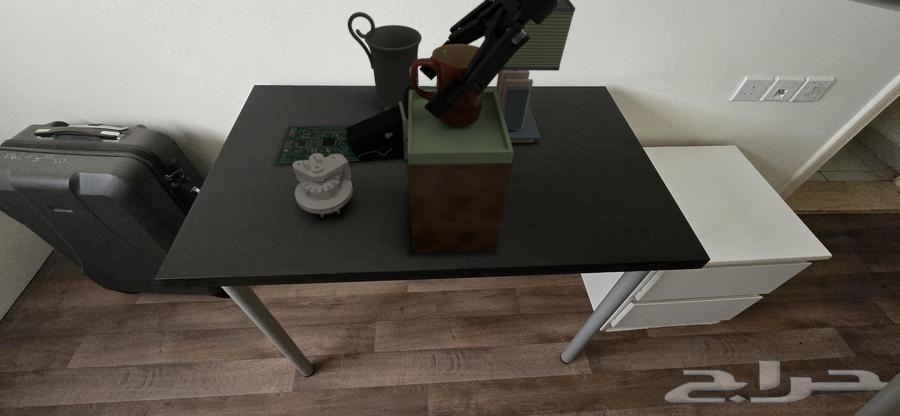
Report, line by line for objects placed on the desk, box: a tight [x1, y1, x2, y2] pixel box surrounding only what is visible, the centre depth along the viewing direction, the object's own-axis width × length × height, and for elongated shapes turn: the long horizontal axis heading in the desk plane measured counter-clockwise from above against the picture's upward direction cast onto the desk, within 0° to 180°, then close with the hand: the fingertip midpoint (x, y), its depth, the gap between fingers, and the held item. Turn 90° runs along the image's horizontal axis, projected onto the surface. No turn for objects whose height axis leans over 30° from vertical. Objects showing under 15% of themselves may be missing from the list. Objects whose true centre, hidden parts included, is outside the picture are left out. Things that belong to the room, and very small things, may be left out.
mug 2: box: [410, 44, 483, 127], centre depth 56 cm, size 12×9×10 cm
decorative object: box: [346, 86, 414, 162], centre depth 83 cm, size 8×18×15 cm, turn 102°
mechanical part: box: [292, 153, 354, 218], centre depth 72 cm, size 11×12×12 cm
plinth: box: [406, 103, 514, 255], centre depth 67 cm, size 16×18×22 cm
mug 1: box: [347, 11, 423, 112], centre depth 93 cm, size 19×15×25 cm
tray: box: [408, 89, 515, 165], centre depth 59 cm, size 15×17×2 cm
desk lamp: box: [495, 0, 576, 144], centre depth 86 cm, size 18×14×33 cm
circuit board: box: [278, 125, 361, 164], centre depth 90 cm, size 14×20×1 cm
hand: (428, 92), depth 58 cm, fingers open, 11 cm apart
